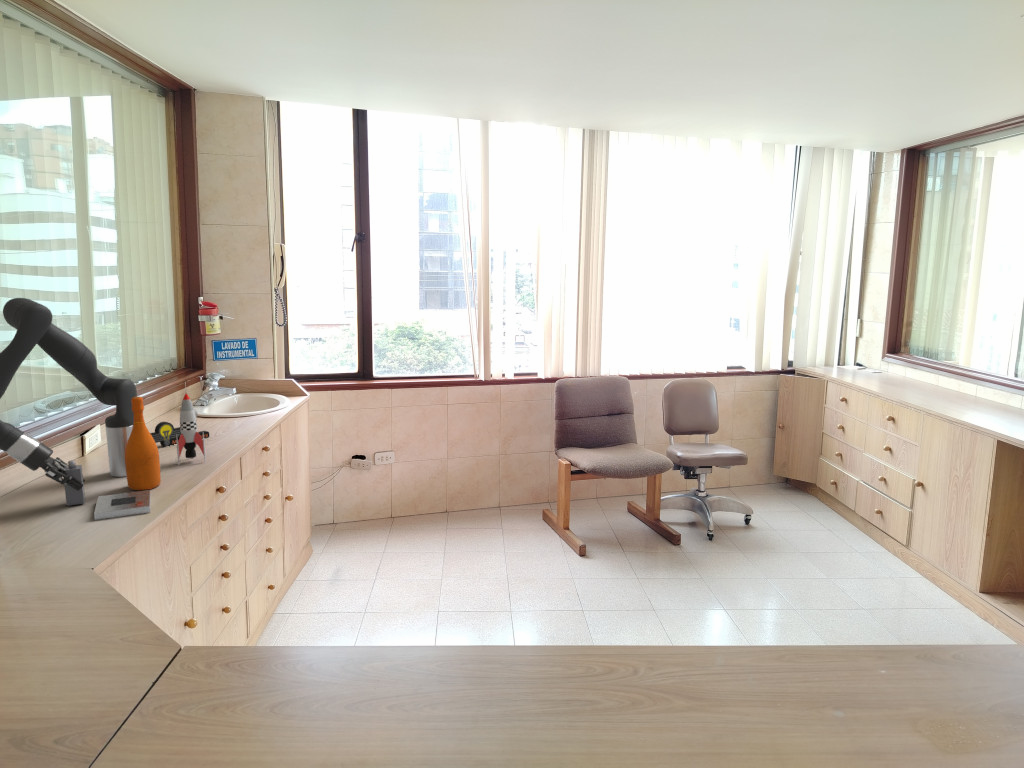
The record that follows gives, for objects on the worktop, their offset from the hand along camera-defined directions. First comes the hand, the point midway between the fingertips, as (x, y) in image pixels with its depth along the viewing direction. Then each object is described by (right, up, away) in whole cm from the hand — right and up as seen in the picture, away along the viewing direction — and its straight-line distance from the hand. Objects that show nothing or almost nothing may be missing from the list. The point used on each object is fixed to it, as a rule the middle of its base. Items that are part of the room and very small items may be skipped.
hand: (81, 485), depth 208 cm
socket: (+14, -6, -3) cm, 16 cm away
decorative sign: (-5, +6, +69) cm, 69 cm away
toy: (+13, +2, +43) cm, 45 cm away
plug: (-2, -5, 0) cm, 5 cm away
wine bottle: (+10, -3, +16) cm, 20 cm away
